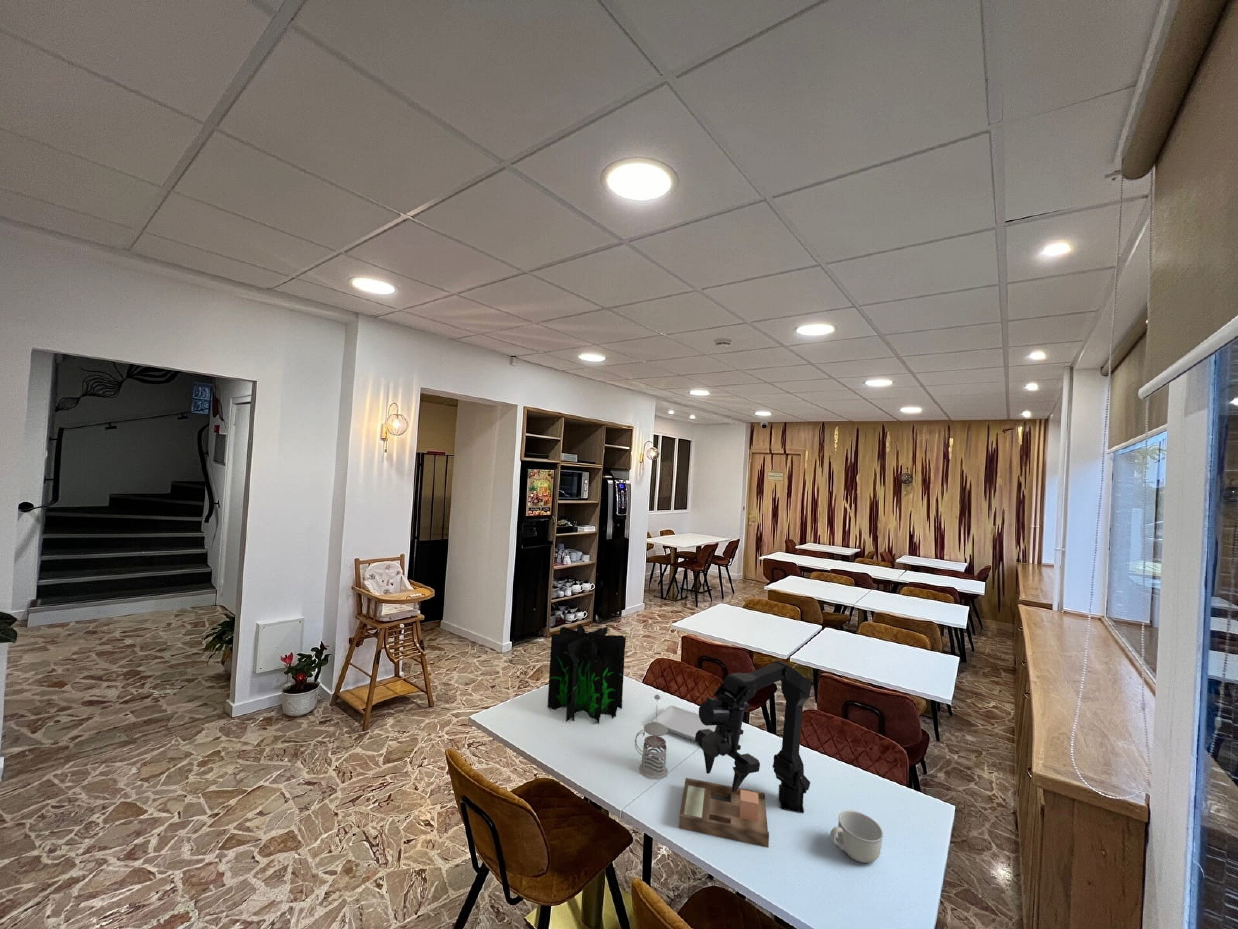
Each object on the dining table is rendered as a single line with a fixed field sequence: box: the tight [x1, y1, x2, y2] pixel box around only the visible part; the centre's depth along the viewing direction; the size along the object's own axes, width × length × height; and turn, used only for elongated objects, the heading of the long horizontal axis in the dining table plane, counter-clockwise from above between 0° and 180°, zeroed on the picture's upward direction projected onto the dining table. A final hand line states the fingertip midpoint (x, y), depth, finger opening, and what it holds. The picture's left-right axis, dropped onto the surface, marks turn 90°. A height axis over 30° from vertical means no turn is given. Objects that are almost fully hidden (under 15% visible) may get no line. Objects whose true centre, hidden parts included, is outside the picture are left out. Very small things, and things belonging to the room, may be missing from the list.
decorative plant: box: [547, 623, 627, 724], centre depth 207 cm, size 29×30×30 cm
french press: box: [634, 694, 669, 781], centre depth 165 cm, size 10×12×25 cm
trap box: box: [678, 777, 770, 848], centre depth 144 cm, size 24×18×4 cm
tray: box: [651, 705, 742, 743], centre depth 190 cm, size 17×32×4 cm, turn 56°
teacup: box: [830, 809, 884, 864], centre depth 132 cm, size 14×11×8 cm
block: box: [740, 789, 759, 822], centre depth 143 cm, size 5×5×5 cm
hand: (720, 782), depth 135 cm, fingers open, 9 cm apart
